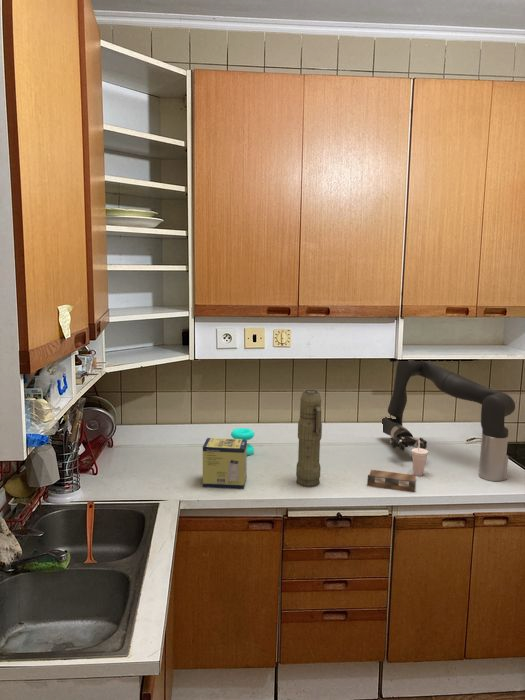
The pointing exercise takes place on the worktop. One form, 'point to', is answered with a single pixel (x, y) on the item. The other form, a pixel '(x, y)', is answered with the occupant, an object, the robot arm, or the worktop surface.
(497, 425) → the robot arm
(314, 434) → the thermos
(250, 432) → the donuts
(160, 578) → the worktop surface
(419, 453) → the smoothie
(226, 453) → the protein box
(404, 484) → the shelf board
